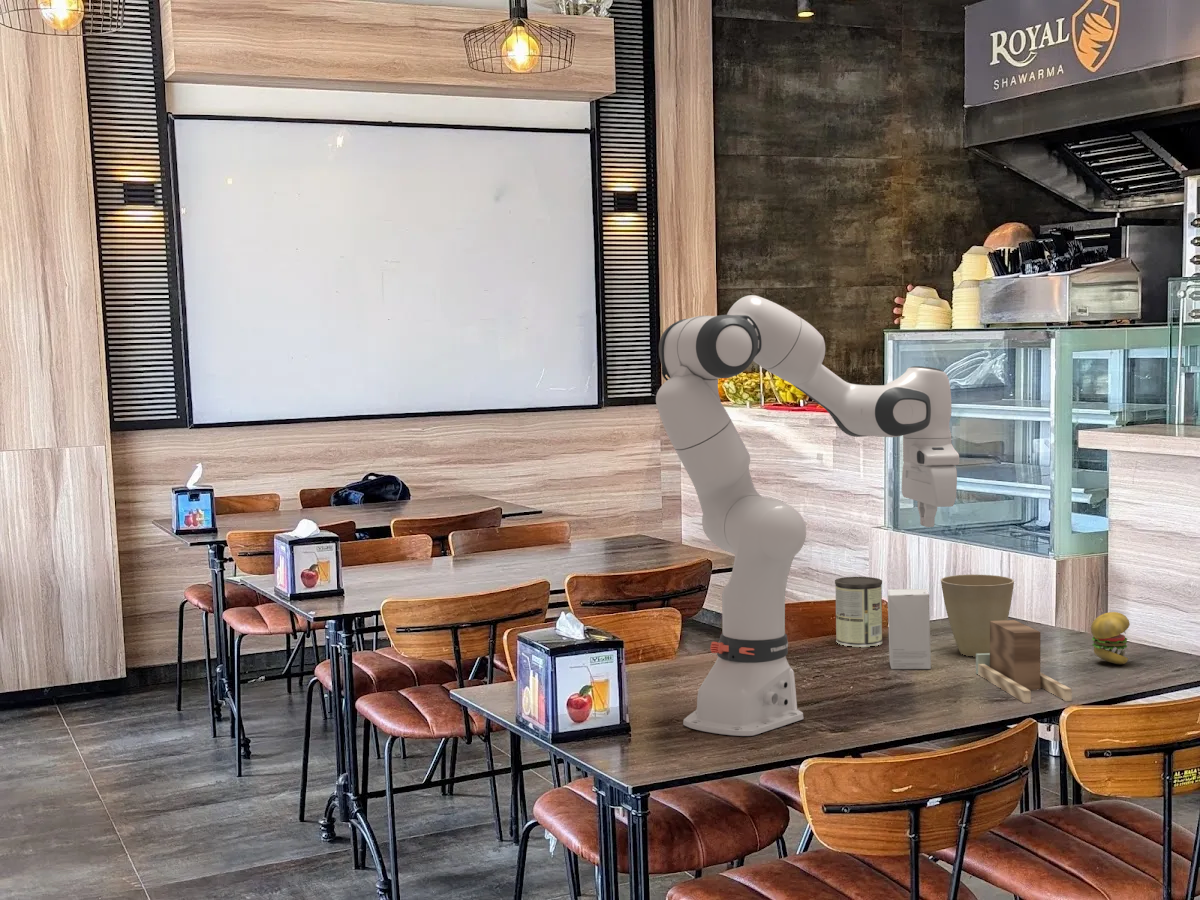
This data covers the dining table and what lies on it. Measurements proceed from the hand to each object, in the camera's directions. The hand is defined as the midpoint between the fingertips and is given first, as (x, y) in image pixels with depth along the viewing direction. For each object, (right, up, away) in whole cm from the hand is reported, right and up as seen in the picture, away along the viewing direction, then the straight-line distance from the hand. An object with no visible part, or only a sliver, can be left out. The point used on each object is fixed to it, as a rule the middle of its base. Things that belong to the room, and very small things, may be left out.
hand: (927, 526), depth 245 cm
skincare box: (+1, -30, +21) cm, 37 cm away
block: (+18, -31, +6) cm, 36 cm away
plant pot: (+18, -29, +31) cm, 46 cm away
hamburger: (+42, -29, +19) cm, 55 cm away
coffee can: (-4, -29, +44) cm, 53 cm away
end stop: (+17, -30, +13) cm, 37 cm away
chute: (+19, -31, +2) cm, 36 cm away
